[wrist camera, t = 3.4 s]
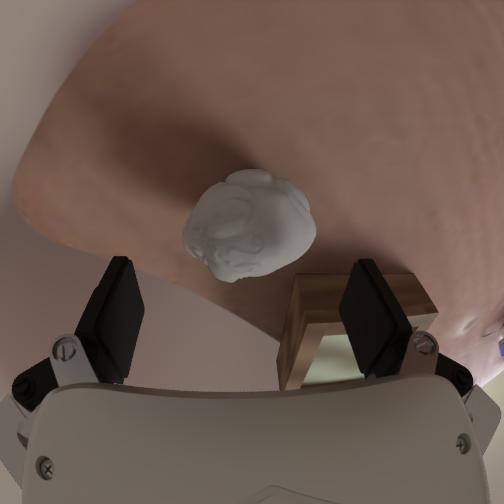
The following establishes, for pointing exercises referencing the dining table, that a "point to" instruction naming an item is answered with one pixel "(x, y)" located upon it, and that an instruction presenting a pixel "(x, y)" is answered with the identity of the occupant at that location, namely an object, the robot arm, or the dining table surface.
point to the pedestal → (334, 329)
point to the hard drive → (501, 347)
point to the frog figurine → (249, 225)
